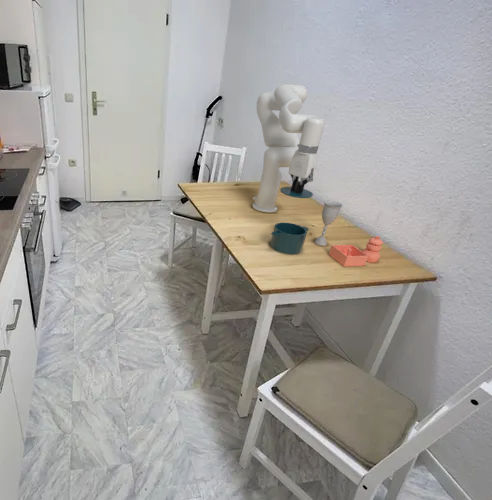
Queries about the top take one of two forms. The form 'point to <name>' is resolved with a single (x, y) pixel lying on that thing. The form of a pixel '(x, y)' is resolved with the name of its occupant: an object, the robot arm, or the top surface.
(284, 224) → the pot
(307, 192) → the lid
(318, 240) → the chalice
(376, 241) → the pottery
